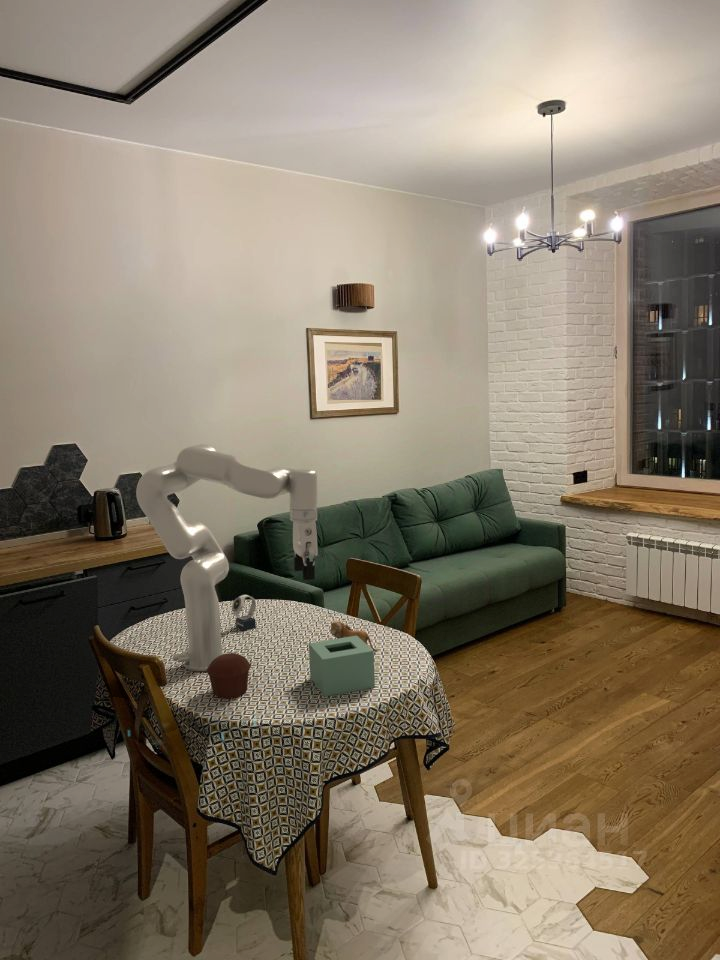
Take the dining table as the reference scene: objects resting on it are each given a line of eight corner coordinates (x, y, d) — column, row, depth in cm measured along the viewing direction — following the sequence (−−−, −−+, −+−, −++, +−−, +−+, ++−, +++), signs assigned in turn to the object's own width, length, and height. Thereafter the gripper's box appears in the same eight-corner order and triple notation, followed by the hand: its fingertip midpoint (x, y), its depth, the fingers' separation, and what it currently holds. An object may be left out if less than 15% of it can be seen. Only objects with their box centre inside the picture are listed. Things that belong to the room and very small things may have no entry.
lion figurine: (328, 652, 218) (327, 623, 217) (334, 646, 223) (333, 618, 222) (375, 656, 213) (374, 626, 212) (380, 649, 218) (379, 621, 217)
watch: (231, 628, 243) (228, 596, 242) (251, 622, 248) (249, 591, 247) (239, 632, 239) (237, 600, 237) (260, 626, 244) (258, 595, 242)
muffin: (240, 679, 200) (238, 644, 199) (260, 692, 191) (258, 655, 190) (200, 691, 193) (198, 655, 192) (219, 705, 184) (216, 667, 183)
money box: (324, 696, 187) (322, 659, 186) (310, 678, 199) (308, 643, 198) (374, 687, 192) (373, 650, 190) (358, 669, 204) (356, 635, 202)
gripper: (325, 519, 192) (325, 582, 194) (308, 508, 208) (309, 566, 210) (297, 521, 189) (298, 584, 192) (283, 509, 206) (284, 568, 208)
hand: (304, 574), depth 201 cm, fingers open, 9 cm apart
